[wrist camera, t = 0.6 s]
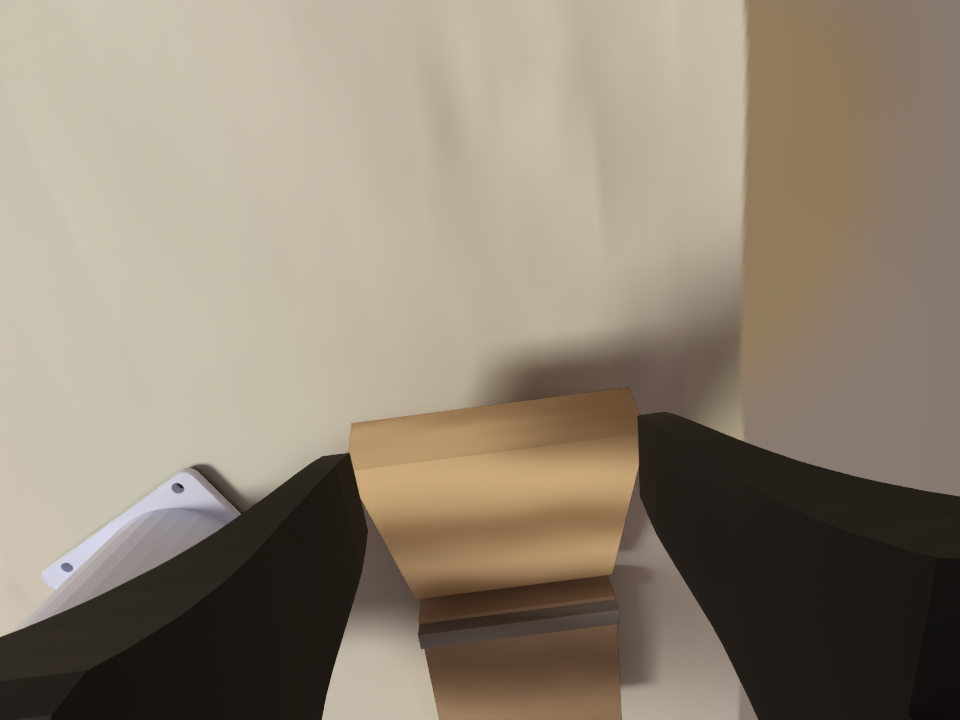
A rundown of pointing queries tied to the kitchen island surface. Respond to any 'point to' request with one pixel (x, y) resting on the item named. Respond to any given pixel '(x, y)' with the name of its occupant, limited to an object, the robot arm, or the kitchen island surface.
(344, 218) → the kitchen island surface
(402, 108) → the kitchen island surface
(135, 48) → the kitchen island surface
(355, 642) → the kitchen island surface
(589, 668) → the walnut board
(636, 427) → the oak plank
